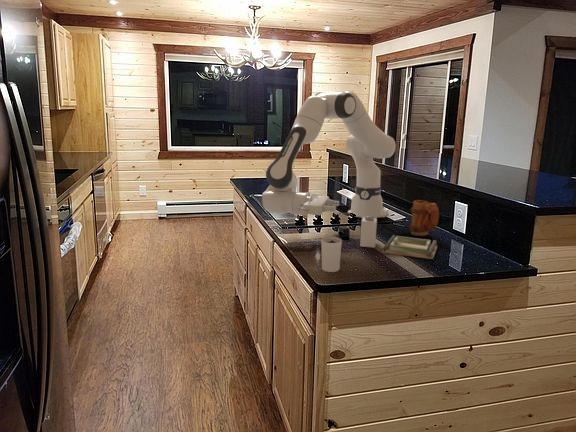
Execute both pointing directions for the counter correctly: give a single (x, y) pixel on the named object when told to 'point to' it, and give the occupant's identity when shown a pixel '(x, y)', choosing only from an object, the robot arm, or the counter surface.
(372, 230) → the white capped container
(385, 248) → the tray
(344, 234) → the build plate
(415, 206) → the orange brown rounded block
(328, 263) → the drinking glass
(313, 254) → the counter surface
